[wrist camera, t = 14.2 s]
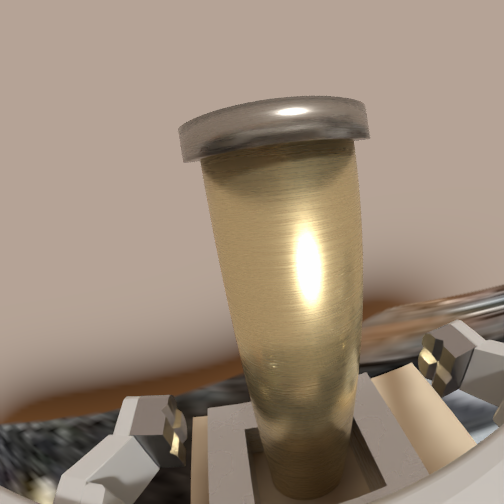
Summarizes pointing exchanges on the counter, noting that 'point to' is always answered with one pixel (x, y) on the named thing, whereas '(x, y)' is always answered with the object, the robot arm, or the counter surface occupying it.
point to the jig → (361, 441)
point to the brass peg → (290, 270)
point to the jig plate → (352, 482)
